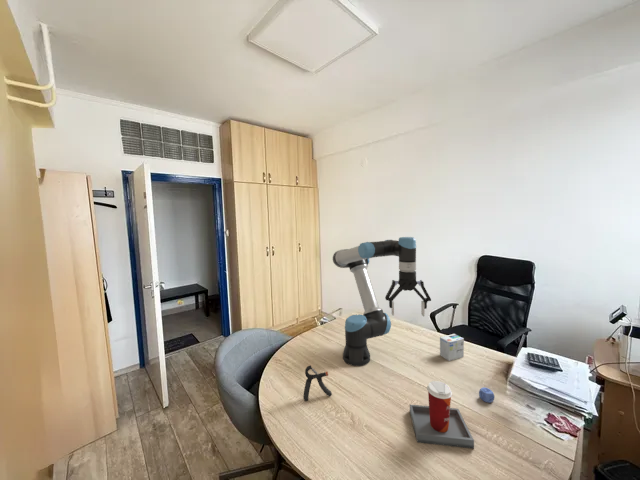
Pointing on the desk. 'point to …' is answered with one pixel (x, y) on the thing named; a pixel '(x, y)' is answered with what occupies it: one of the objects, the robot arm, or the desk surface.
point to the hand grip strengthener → (319, 379)
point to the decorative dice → (486, 395)
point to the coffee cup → (439, 405)
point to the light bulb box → (452, 347)
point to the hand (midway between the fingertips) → (407, 314)
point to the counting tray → (453, 437)
